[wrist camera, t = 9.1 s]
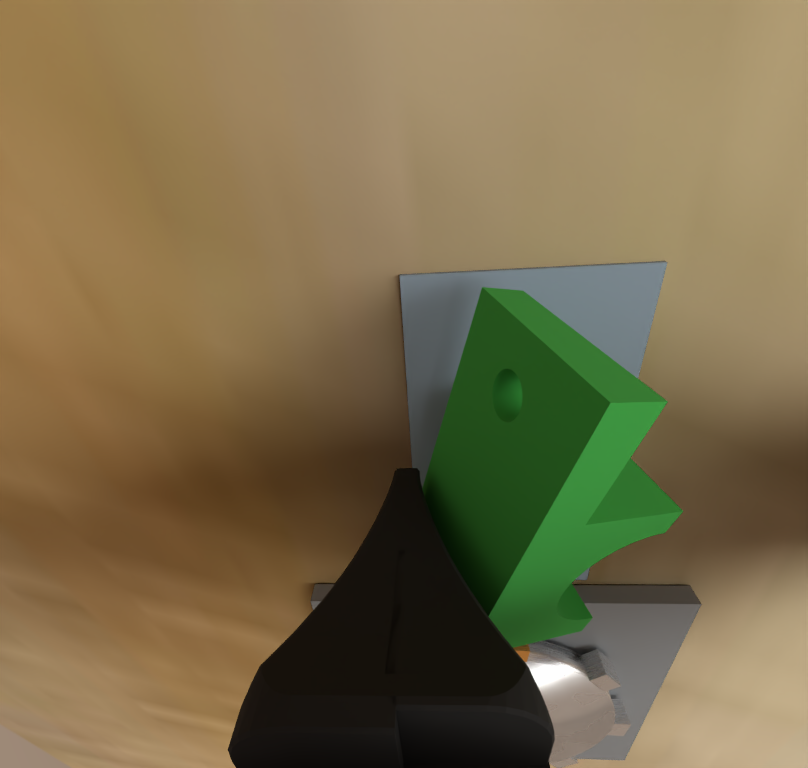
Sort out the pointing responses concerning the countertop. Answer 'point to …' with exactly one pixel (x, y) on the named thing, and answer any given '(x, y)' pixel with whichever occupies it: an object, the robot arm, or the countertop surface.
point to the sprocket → (576, 697)
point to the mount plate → (624, 645)
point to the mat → (550, 286)
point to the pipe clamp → (539, 466)
